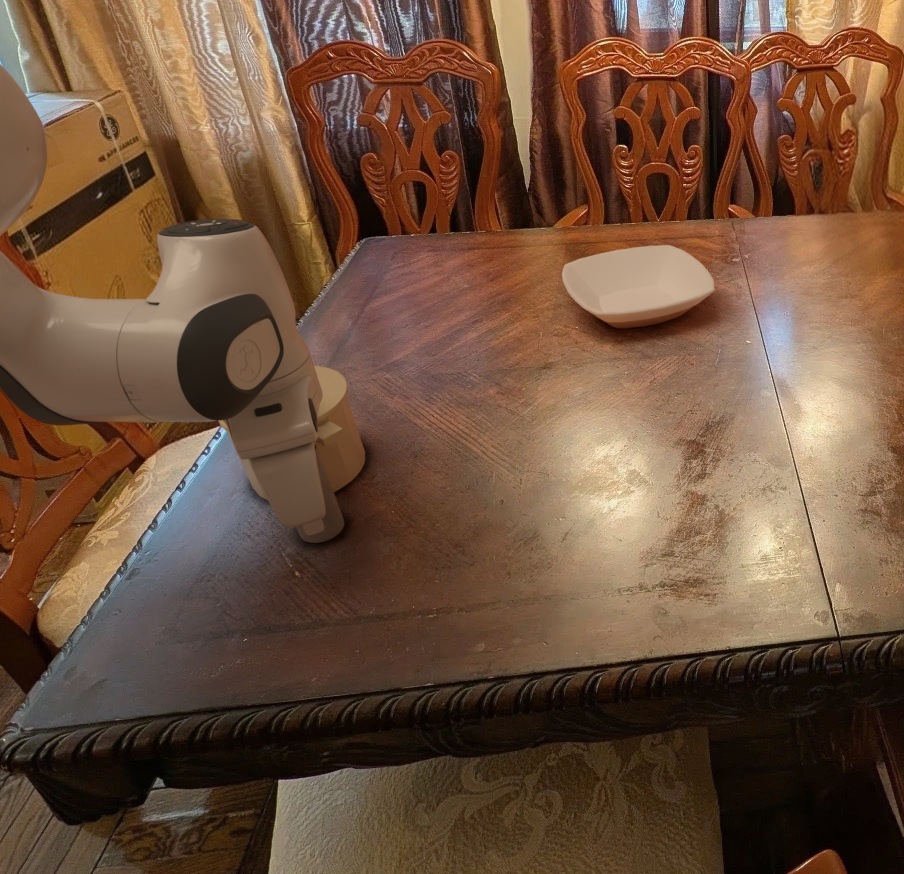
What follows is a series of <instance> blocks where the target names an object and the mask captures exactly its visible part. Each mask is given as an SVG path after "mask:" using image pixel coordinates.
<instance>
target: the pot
mask: <svg viewBox="0 0 904 874" xmlns="http://www.w3.org/2000/svg"><path fill="white" fill-rule="evenodd" d="M355 420H356V419H355V417H354V413H353V410H352V408H351V405H350V402H349V399H348V395H347V396H346V398H345V400H344V401H343V403H342V404H341V405H340V406H339V407H338V408H337V409H336V410H335V411H334V412H333V413H331V414H330V415H328V416H327V417H325V418H324V419H322V420H320V421H318V422H317V428H318V431H317V434H318V439H317V440H316V441H314V443H315V445H316V447H317V449H318V452H319V454H320V457H321V460H322V462H323V465H324V468H325V470H326V473H327V476H328V479H329V481H330V484H331V487H332V489H333V492H334V493H335V492H337V491H339V490H341V489H342V488H344V487H345V486H347V485H348V484H350V483H351V482H352V481H353V480H354V479H355V478H356V477H357V476H358V475H359V474H360V472H361V471H362V470H363V467H364V465H365V464H366V463H365V462H366V451H365V448H364V444H363V441H362V439H361V436H360V432H359V429H358V427H357V426H358V425H357V423H356V421H355ZM226 432H227V435H228V436H229V439H230V440H231V444H232V445H233V447H234V448H235V446H234V443H233V441H232V438H231V434H230V432H228V431H226ZM235 452H236V453H237V451H236V450H235ZM238 458H239V461H240V463H241V465H242V468H243V469H244V472H245V475H246V477H247V479H248V481H249V483H250V486H251V488H252V489H253V490H254V491H255V493H256V494H257V495H258V496H259V497H260V498H262V499H264V500H266V501H268V499H267V497H266V495H265V493H264V491H263V489H262V487H261V485H260V483H259V481H258V479H257V477H256V475H255V473H254V471H253V468H252V466H251V464H250V461H249V459H244V460H242V459H240V457H239V456H238Z"/></svg>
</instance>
